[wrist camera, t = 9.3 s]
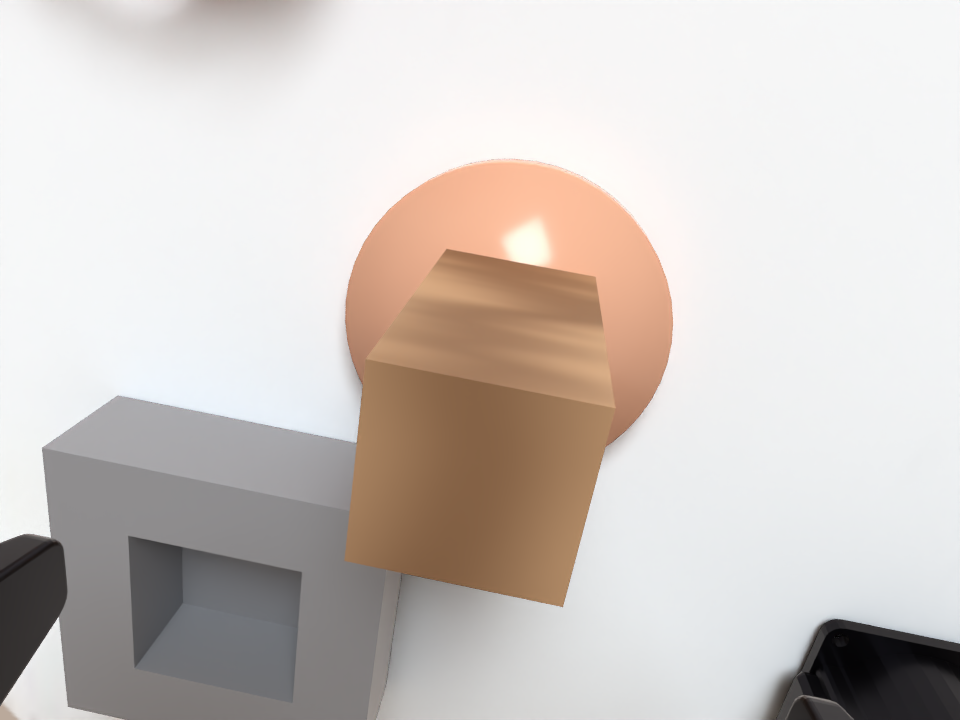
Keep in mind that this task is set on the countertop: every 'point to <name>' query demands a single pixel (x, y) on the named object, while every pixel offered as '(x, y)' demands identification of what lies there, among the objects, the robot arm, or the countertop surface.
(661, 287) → the terracotta plate
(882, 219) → the countertop surface
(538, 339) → the walnut block
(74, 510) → the pocket holder
